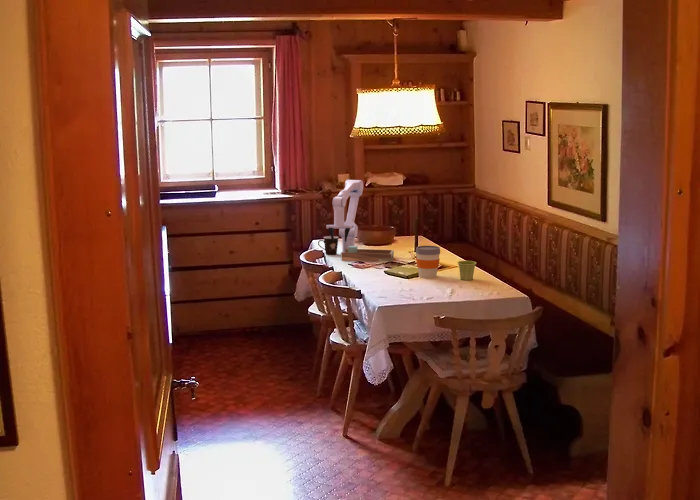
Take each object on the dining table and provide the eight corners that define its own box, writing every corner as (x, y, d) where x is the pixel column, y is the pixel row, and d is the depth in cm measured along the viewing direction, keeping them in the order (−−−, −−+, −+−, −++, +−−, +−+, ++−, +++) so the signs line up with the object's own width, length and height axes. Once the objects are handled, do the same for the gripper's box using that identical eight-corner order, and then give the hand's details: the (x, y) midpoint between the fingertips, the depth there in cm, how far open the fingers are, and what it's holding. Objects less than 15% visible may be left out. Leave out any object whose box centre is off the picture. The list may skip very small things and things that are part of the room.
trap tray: (345, 256, 494) (345, 248, 493) (393, 257, 489) (393, 250, 488) (341, 260, 481) (341, 252, 480) (391, 261, 477) (391, 254, 476)
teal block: (349, 253, 491) (349, 245, 490) (357, 253, 491) (357, 246, 490) (348, 254, 487) (348, 247, 486) (356, 255, 486) (356, 247, 485)
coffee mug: (339, 252, 504) (339, 236, 503) (337, 255, 496) (337, 238, 494) (319, 252, 506) (319, 235, 504) (317, 255, 497) (317, 238, 495)
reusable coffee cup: (443, 278, 434) (444, 249, 432) (420, 279, 431) (421, 250, 428) (434, 273, 446) (434, 245, 443) (411, 274, 443) (412, 246, 440)
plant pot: (477, 281, 427) (478, 264, 426) (459, 281, 426) (459, 264, 425) (473, 277, 436) (474, 260, 435) (455, 277, 436) (455, 260, 434)
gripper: (325, 218, 484) (325, 242, 486) (350, 218, 481) (350, 242, 484) (327, 216, 490) (327, 240, 493) (352, 217, 488) (352, 240, 490)
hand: (339, 241), depth 489 cm, fingers open, 7 cm apart
